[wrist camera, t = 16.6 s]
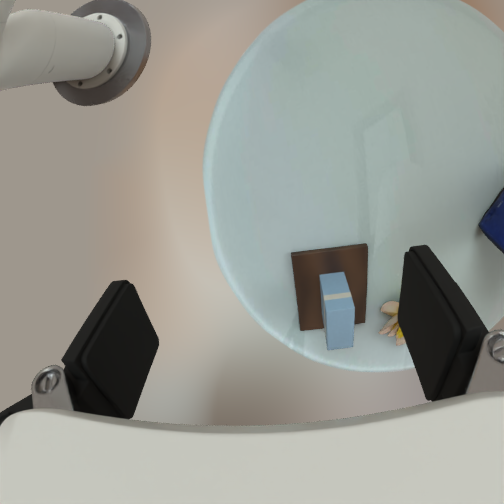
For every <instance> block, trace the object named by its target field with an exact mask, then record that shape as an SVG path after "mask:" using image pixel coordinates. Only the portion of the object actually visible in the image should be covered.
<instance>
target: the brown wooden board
mask: <svg viewBox="0 0 504 504" xmlns="http://www.w3.org/2000/svg"><path fill="white" fill-rule="evenodd" d="M291 257H292V264H293V272H294V280H295V288H296V296H297V305H298V313H299V322H300V330H301V331H304V330H313V329H322V328H324V323H323V317H322V308H321V291H320V276H319V275H321V274H329V273H337V272H344V274H345V277H346V280H347V283H348V286H349V290H350V292H351V296H352V300H353V303H354V307H355V318H354V324H359V323H365V314H366V296H367V268H368V246H367V244H358V245H350V246H342V247H333V248H325V249H317V250H309V251H301V252H292V253H291Z"/></svg>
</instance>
